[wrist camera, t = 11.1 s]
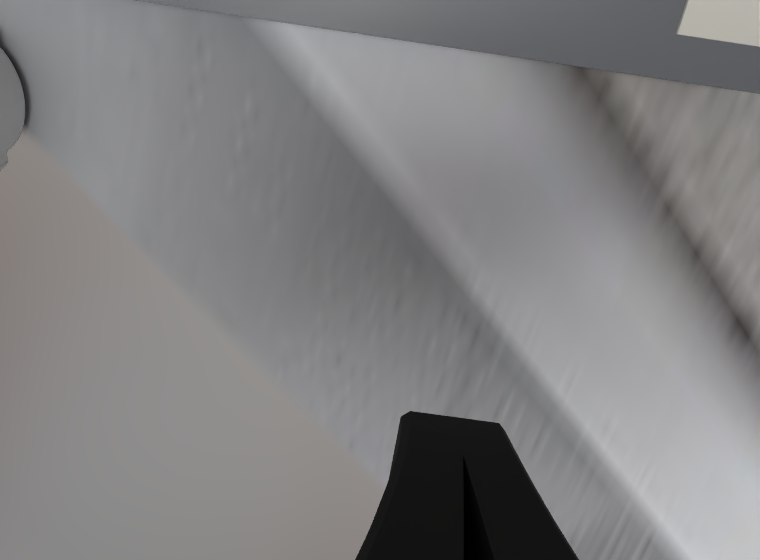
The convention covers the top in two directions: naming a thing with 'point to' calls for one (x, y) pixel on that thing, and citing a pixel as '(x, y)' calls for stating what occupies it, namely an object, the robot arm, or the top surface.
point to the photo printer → (9, 107)
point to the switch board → (551, 31)
